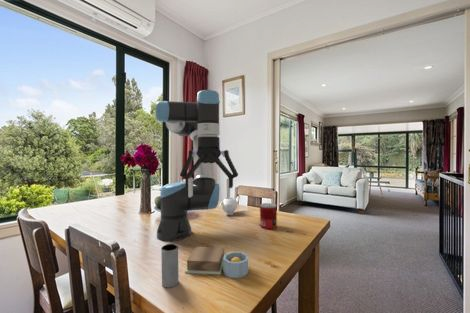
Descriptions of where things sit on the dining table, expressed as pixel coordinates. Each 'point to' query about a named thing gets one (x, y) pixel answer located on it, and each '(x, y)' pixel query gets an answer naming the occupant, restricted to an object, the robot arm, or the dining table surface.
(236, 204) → the teapot
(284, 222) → the dining table surface
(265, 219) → the canned food
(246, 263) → the bowl
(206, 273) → the mat
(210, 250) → the cover
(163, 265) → the grey cylinder
